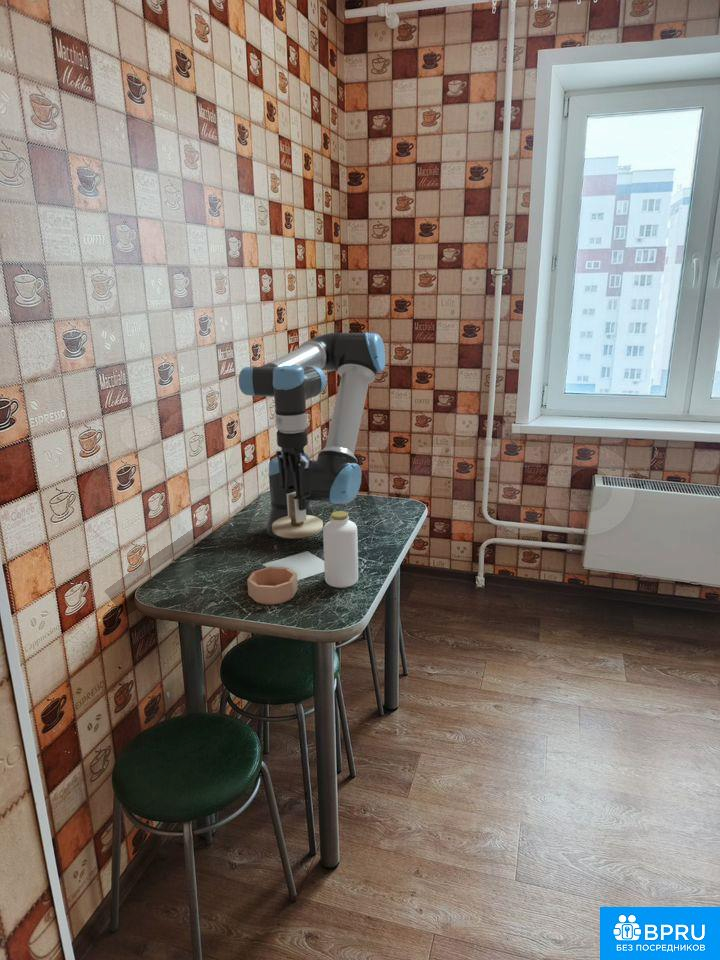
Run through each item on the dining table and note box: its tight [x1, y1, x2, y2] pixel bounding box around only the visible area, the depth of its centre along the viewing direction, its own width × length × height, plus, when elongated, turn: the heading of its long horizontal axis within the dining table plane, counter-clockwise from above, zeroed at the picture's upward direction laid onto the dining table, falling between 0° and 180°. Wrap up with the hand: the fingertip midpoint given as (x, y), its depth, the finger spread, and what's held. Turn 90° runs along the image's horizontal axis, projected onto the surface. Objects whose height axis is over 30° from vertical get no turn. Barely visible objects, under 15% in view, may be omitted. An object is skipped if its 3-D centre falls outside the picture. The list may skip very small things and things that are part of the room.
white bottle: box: [322, 510, 359, 589], centre depth 159 cm, size 8×8×18 cm
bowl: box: [246, 567, 299, 606], centre depth 155 cm, size 11×11×5 cm
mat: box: [262, 550, 325, 581], centre depth 170 cm, size 14×14×1 cm
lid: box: [272, 493, 324, 539], centre depth 166 cm, size 13×13×9 cm
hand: (297, 518), depth 167 cm, fingers closed on lid, 3 cm apart
